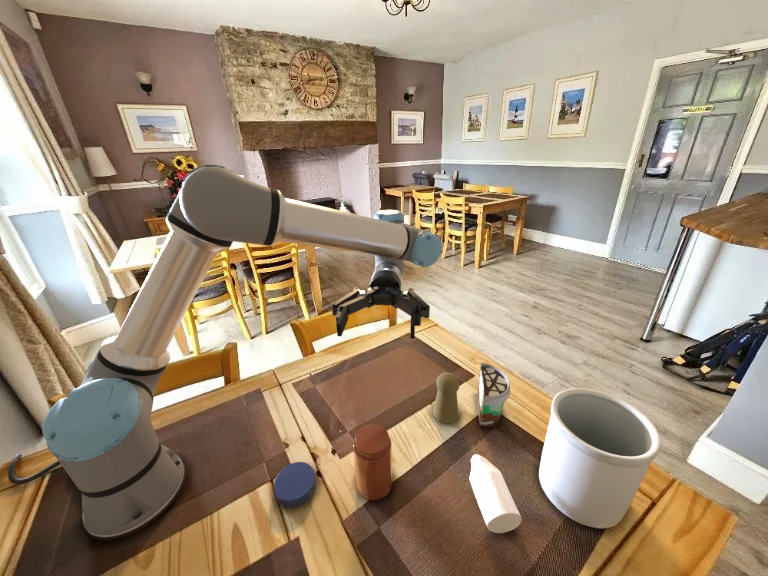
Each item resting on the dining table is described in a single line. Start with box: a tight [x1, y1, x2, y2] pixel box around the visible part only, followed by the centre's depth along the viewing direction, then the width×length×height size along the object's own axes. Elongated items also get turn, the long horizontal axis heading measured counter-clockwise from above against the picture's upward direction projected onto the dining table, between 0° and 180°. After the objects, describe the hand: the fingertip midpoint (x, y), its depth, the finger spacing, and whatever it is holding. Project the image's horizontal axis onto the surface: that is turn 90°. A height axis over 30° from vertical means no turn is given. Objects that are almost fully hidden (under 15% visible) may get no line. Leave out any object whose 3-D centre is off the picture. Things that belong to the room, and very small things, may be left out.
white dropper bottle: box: [468, 453, 523, 534], centre depth 56 cm, size 6×12×6 cm, turn 6°
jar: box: [352, 423, 393, 501], centre depth 57 cm, size 7×7×12 cm
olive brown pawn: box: [432, 371, 461, 424], centre depth 72 cm, size 6×6×11 cm
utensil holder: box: [538, 387, 662, 529], centre depth 54 cm, size 15×15×18 cm
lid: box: [273, 461, 317, 508], centre depth 59 cm, size 8×8×2 cm
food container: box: [476, 362, 511, 428], centre depth 72 cm, size 12×6×10 cm, turn 168°
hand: (375, 331), depth 57 cm, fingers open, 13 cm apart
